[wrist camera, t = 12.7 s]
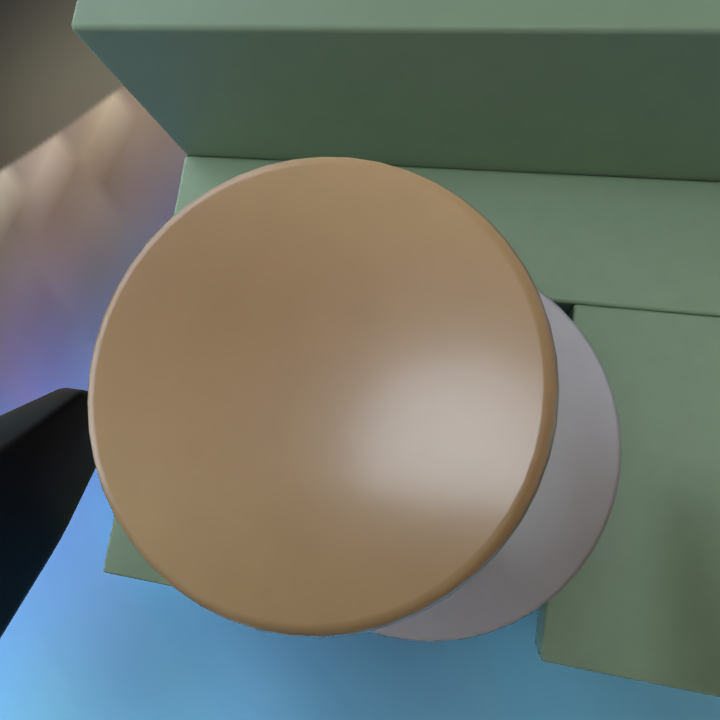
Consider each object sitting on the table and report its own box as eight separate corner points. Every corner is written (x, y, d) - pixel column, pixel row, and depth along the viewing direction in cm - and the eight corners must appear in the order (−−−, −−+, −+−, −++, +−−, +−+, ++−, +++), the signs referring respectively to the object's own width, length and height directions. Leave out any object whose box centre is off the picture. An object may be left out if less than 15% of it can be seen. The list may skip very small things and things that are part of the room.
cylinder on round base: (530, 629, 14) (828, 1468, 2) (269, 530, 16) (-362, 736, 4) (607, 355, 15) (1135, -67, 3) (350, 285, 16) (32, -181, 5)
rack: (667, 626, 15) (955, 865, 6) (207, 541, 17) (-71, 622, 8) (693, 239, 16) (956, -28, 7) (264, 211, 18) (78, -17, 10)
